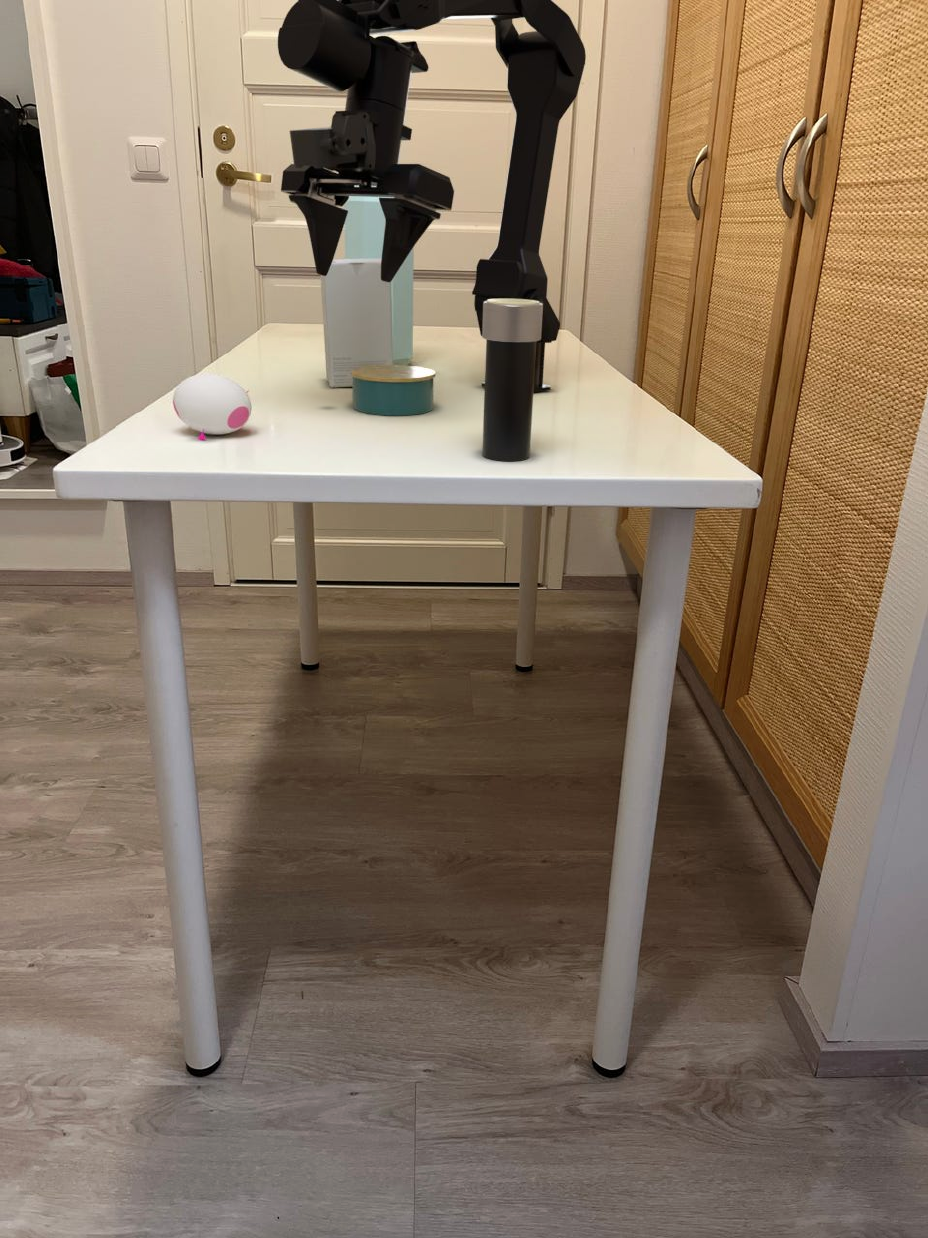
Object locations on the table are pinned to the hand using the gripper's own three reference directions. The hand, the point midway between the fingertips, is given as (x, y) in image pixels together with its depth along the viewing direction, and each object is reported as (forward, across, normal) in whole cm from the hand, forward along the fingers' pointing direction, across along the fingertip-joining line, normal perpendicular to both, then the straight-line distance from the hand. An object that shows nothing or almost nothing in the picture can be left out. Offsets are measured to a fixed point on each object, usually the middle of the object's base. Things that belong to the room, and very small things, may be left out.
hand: (352, 278), depth 95 cm
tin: (+12, -2, +11) cm, 16 cm away
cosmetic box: (+11, -16, +18) cm, 26 cm away
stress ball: (+17, -4, -11) cm, 21 cm away
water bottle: (+8, -26, +32) cm, 41 cm away
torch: (+14, +21, +3) cm, 25 cm away
